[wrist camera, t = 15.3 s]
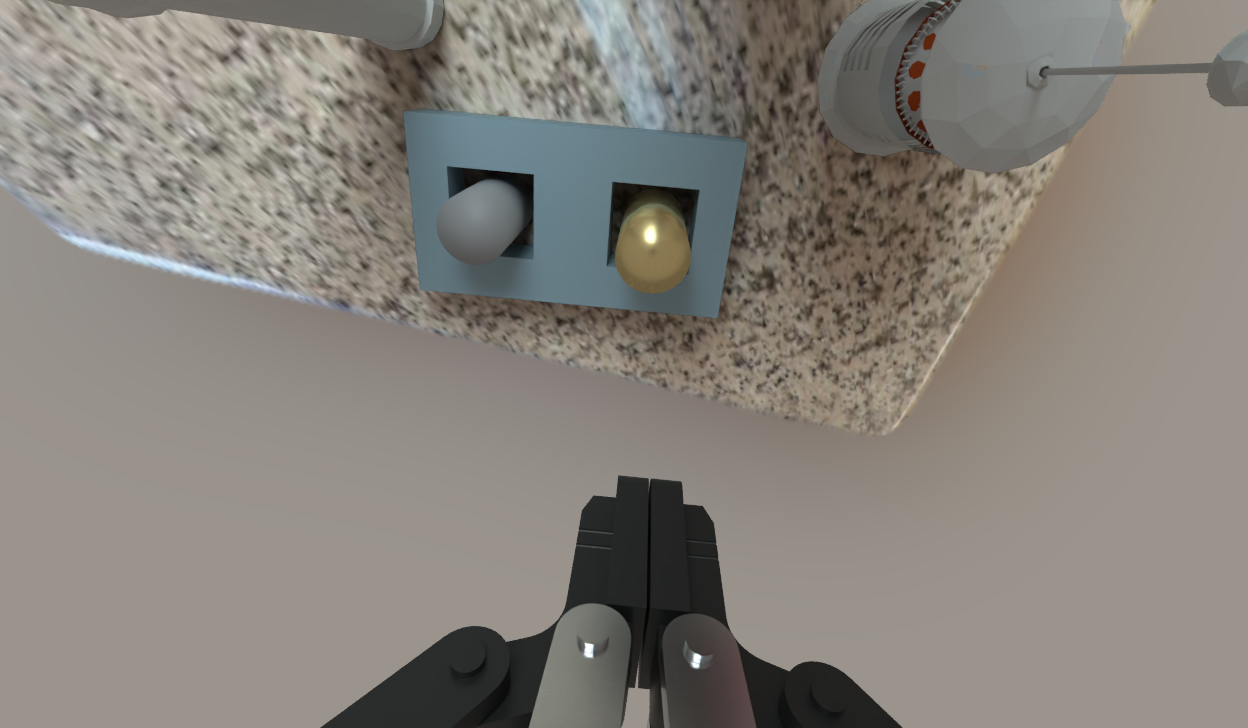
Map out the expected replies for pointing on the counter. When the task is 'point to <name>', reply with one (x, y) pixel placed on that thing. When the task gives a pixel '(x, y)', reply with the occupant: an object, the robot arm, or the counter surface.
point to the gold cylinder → (653, 243)
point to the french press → (986, 76)
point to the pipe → (305, 15)
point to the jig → (561, 207)
